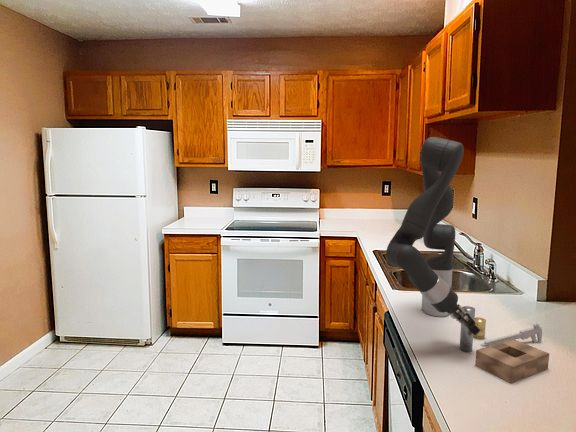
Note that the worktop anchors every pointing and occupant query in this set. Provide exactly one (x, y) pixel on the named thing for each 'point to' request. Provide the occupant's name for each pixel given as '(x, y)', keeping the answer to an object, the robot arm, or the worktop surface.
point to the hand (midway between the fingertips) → (473, 329)
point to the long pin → (467, 332)
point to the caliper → (519, 336)
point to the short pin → (481, 325)
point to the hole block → (512, 360)
